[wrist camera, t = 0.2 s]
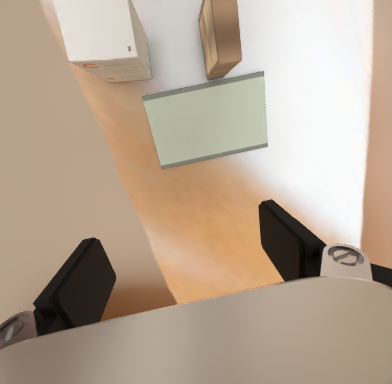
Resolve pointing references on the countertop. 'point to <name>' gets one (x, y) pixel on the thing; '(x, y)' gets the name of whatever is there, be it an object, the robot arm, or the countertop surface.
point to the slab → (220, 36)
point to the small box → (104, 38)
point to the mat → (208, 120)
